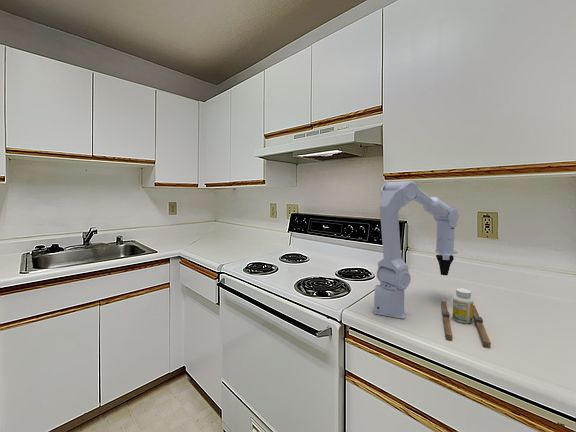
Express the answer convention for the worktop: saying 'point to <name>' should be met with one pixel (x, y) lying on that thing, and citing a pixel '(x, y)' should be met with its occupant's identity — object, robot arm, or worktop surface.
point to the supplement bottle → (463, 306)
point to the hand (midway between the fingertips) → (444, 274)
